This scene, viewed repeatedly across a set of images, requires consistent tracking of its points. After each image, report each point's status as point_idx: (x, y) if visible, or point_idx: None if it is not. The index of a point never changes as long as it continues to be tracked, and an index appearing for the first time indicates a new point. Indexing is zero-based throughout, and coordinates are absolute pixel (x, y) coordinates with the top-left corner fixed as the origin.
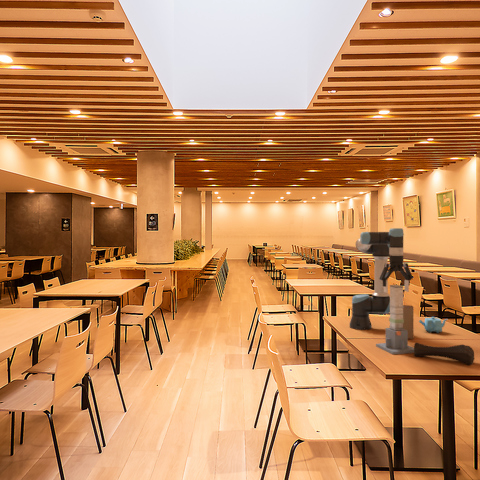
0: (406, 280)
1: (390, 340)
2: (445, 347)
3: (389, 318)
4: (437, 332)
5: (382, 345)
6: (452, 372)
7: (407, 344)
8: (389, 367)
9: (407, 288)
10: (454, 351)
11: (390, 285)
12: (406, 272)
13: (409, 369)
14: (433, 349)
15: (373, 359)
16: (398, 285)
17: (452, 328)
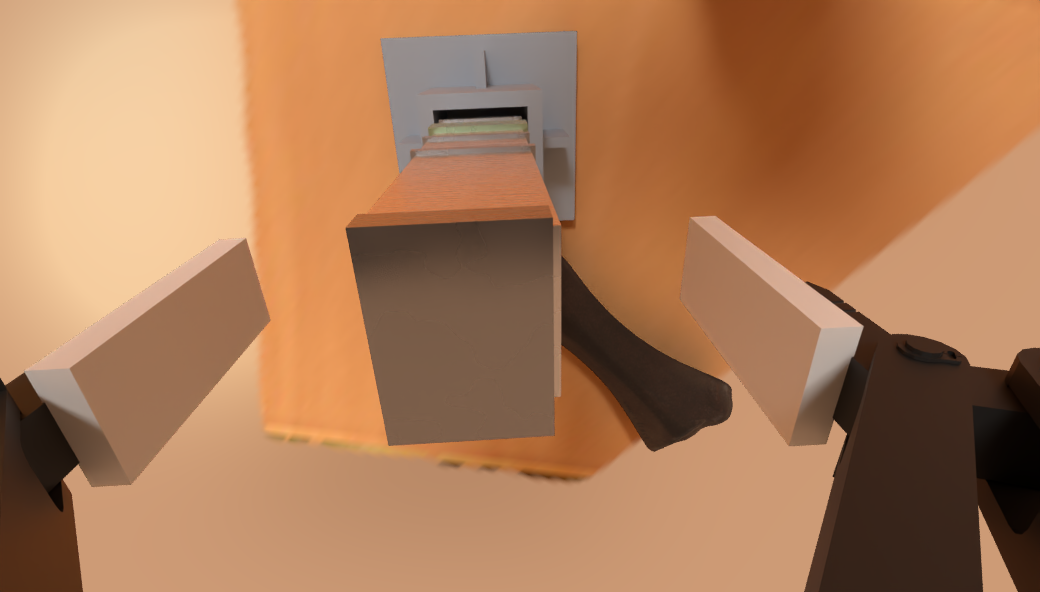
0: (795, 404)
1: None
2: (622, 382)
3: (429, 131)
4: None
5: (406, 92)
6: (527, 453)
7: None
8: (303, 379)
9: (701, 327)
10: (630, 413)
11: (353, 252)
12: None
13: (379, 409)
14: (574, 349)
15: (267, 277)
16: (522, 336)
17: None
